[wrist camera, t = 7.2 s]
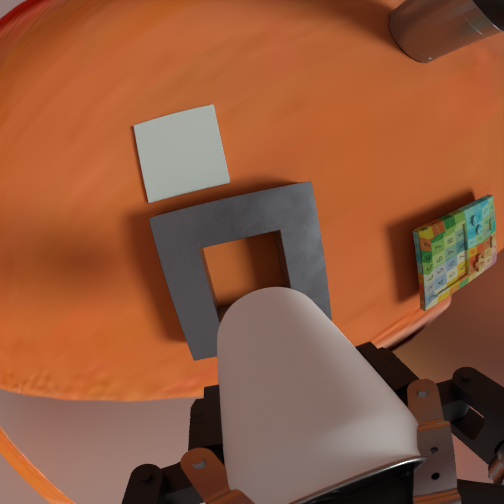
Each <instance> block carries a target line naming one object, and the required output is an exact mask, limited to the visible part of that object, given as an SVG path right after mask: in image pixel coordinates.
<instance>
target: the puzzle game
mask: <svg viewBox="0 0 504 504" xmlns="http://www.w3.org/2000/svg"><path fill="white" fill-rule="evenodd" d="M413 237H414V244H415V251H416V259H417V268H418V279H419V292H420V309H422V310H424V311H426V310H427V309H429V308H430V307H432V306H434V305H435V304H437V303H438V302H440V301H442V300H443V299H445V298H446V297H448V296H449V295H451V294H452V293H454V292H455V291H457V290H458V289H460V288H461V287H463V286H464V285H465V284H467V283H468V282H470V281H471V280H473V279H474V278H475V277H476V276H478V275H479V274H481V273H482V272H483V271H485V270H486V269H487V268H489V267H490V266H491V265H493V264H494V263H495V262H496V226H495V212H494V202H493V195H486V196H484V197H482V198H480V199H478V200H476V201H474V202H471V203H469V204H467V205H465V206H463V207H461V208H459V209H457V210H455V211H453V212H451V213H449V214H446V215H444V216H442V217H440V218H438V219H436V220H434V221H431V222H429V223H427V224H425V225H423V226H420V227H418V228H416V229H414V230H413Z"/></svg>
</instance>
